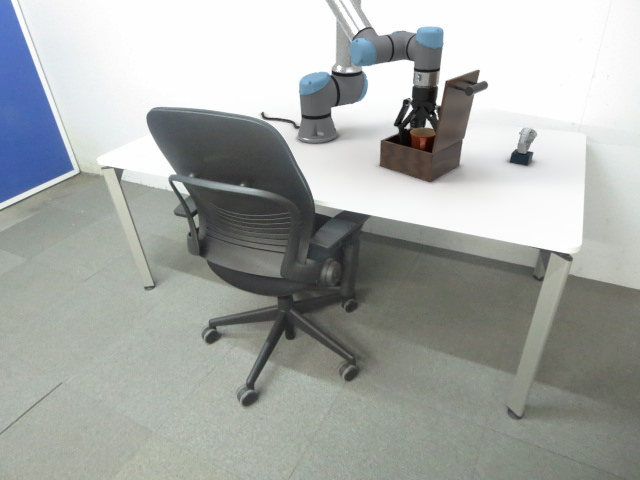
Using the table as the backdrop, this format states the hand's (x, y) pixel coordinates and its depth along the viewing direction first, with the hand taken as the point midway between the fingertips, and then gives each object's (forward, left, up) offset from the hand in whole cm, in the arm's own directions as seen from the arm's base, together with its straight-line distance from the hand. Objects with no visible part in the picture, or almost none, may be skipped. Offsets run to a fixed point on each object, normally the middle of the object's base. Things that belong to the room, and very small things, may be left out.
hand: (419, 153), depth 138 cm
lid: (+11, 0, +15) cm, 19 cm away
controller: (-19, +26, -4) cm, 33 cm away
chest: (0, 0, -4) cm, 4 cm away
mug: (+1, 0, -3) cm, 4 cm away
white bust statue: (+23, +23, -4) cm, 33 cm away
